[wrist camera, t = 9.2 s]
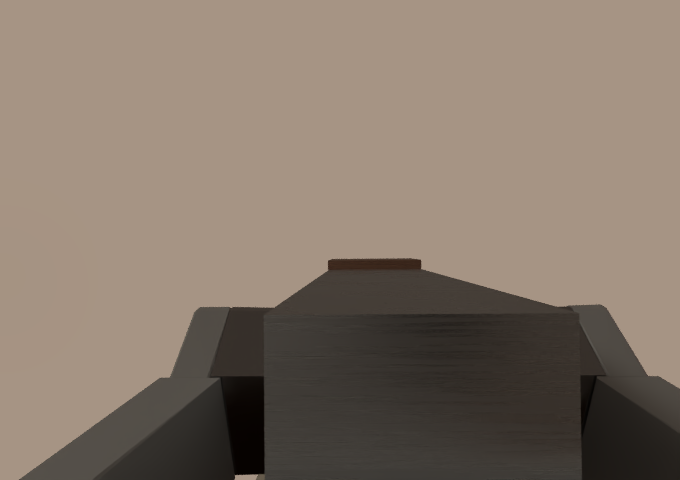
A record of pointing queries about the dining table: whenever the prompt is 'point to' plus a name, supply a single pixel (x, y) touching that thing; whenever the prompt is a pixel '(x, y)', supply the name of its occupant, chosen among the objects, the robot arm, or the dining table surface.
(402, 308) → the bar
